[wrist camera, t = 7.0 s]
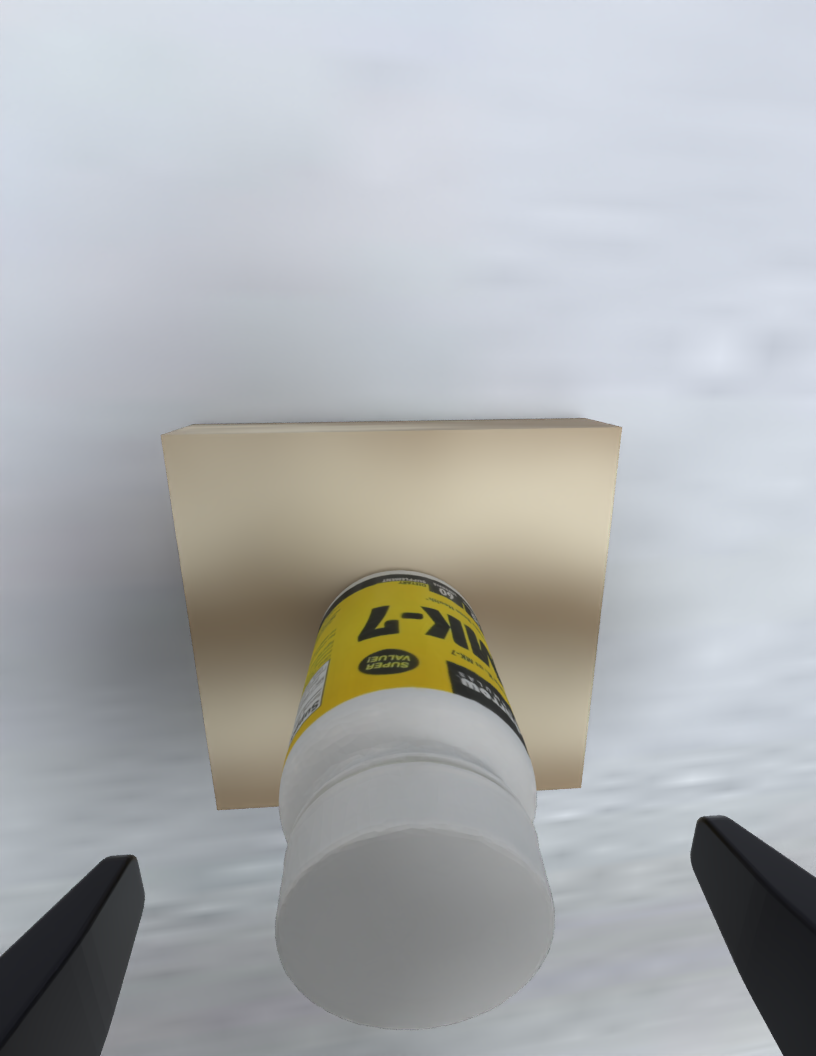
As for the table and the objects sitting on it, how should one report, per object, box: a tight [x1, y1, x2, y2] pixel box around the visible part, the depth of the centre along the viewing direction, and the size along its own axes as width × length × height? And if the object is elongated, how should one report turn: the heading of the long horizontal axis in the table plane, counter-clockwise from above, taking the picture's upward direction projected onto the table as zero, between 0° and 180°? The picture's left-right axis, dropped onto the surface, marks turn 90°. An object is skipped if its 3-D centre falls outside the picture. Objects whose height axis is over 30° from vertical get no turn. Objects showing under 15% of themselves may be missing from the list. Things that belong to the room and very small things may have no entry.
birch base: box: [161, 418, 622, 810], centre depth 16 cm, size 12×12×2 cm
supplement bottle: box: [275, 570, 555, 1030], centre depth 11 cm, size 5×5×8 cm
